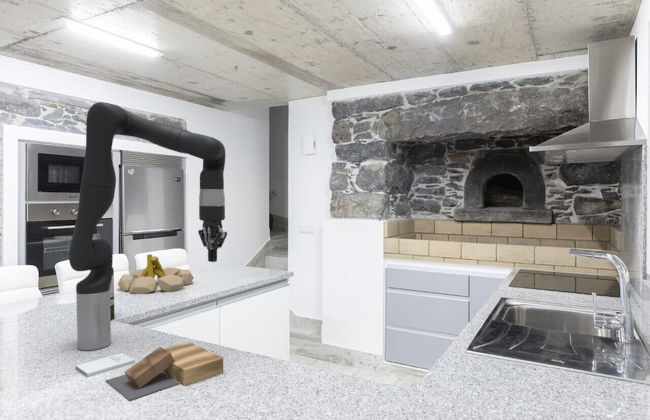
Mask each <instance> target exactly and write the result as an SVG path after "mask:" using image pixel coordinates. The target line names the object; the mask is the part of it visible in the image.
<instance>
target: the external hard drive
mask: <svg viewBox="0 0 650 420" xmlns="http://www.w3.org/2000/svg"><path fill="white" fill-rule="evenodd" d="M129 364H130V365H134V364H136V363H135V359H134V358H132V357H130V356H128V355H127V354H125V353H122V352H121V353H118V354H114V355H111V356H110V355H109V356H106V357H103V358H99V359H95V360H91V361H88V362H83V363H81V364H77V365H74V367H75V370H76V371H77V372H79V374H80V373H81V374H82V375H83V376H85V377H86V378H89V377H94V376H97V375H101V374H104V373H106V372H109V371H113V370H116V369H120V368H123V367H126V365H127V366H130V365H129Z"/></svg>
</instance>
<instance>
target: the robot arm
mask: <svg viewBox="0 0 650 420" xmlns="http://www.w3.org/2000/svg"><path fill="white" fill-rule="evenodd" d="M85 120H86V121H85V122H86V123H85V126H86V129H85V153H84V160H83V169H82V175H81V176H82V177H81V180H80V181H81V183H80V187H79V188H80V189H79V199H78V208H77V214H76V220H75V225H74V229H73V233H72V236H71V240H70V244H69V252H68V260H69V265H70V267H71V269H72V270H74V271H76V272H85V271H86V272H87V271H89V273H88V274H87V276H86V277H84V278H83V279H82V280H80V281H78V282H77V284H76V286H75V292H76V293H75V294H76V295H75V297H76V298H75V300H76V301H75V302H76V328H77V329H76V335H77V336H76V337H77V338H76V339H77V343H76V344H77V349H78V350H80V351H95V350H101V349H103V348H106V347H108V346H110V345H111V343H112V338H111V337H112V333H111V331H112V329H111V326H112V325H111V324H112V323H111V321H112V320H111V321H110V283H111V280H112V267H113V258H114V257H113V256H114V255H113V248H112V245H111V244H110V242H109V241H108V240H106V239H102V238H99V239H98V238H96V239H94V238H93V237H94V234H95V230H96V227H97V226H98V223H99V222H100V221H101V220H102V219H103V217H104V215H106V213H107V212H108V210H109V209H110V208H111V206H112V204H113V203H114V199H115V192H116V185H117V176H116V170H115V167H114V163H113V158H112V157H113V155H112V149H113V142H114V136H127V137H134V138H137V139H140V140H144V141H147V142H149V143H152V144H154V145H156V146H158V147H161V148H164V149H166V150H170V151H173V152H177V153H179V154H184V155H185V154H186V155H190V156H192V157H196V158H198V159H201V160H202V170H201V172H200V173H199V195H198V210H199V213H198V214H199V215H198V219H199V220H200V221H202V226H201V227H202V228H201V229H198V231H197V232H198V235H199V238H200V240H201V243H202V245H203V247H205V248H206V249H207V261H208V262H211V263H215V262H217V261H218V249H221V248H222V246H223V244H224V242H225V241H226V238H227V236H228V232H227V231H224V229H223V224H222V221H224V220H225V218H226V203H225V202H226V197H225V186H224V184H225V182H224V181H225V180H224V171H225V165H226V149H225V148H226V147H225V146H224V144H223V143H222V142H221V141H220V140H218V139H216V138H215V137H212V136H209V135H205V134H200V133H197V132H196V133H195V132H191V131H189V130H187V129H183V128H180V127H176V126H174V125H170V124H167V123H162V122H157V121H154V120H150V119H147V118H145V117H142V116H139V115H137V114H135V113H134V112H131V111H129V110H127V109H126V108H125V109H124V108H122V107H121V106H119V105H117V104H114V103H109V102H106V101H105V102H104V101H98V102H96V103H94V104H92V105H91V106H90V107H89V109H88V111H87V114H86V119H85Z"/></svg>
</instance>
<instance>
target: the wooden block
mask: <svg viewBox="0 0 650 420" xmlns="http://www.w3.org/2000/svg"><path fill="white" fill-rule="evenodd" d="M163 349H165V350H167V351H169V352H170V353H171V355H172V357H173V359H174V361H175V362H174V363H173V364H172V365H170V366H169V367H168V368H166V369H165V370H164V371H162V373H164V374H165V375H167V376H168V377H170V378H172V379H173V380H175V381H176V382H178V383H179V384H180V385H182V386H184V387H186V386H189V385H192V384H195V383H198V382H201V381H204V380H206V379H208V378H213V377H215V376H218V375H220V374H223V373H224V357H222V356H221V355H218V354H216V353H214V352H212V351H209V350H208V349H206V348H204V347H201V346H199V345H197V344H194V343H193V342H191V341H186V342H182V343H179V344H176V345H172V346H168V347H164V348H163Z"/></svg>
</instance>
